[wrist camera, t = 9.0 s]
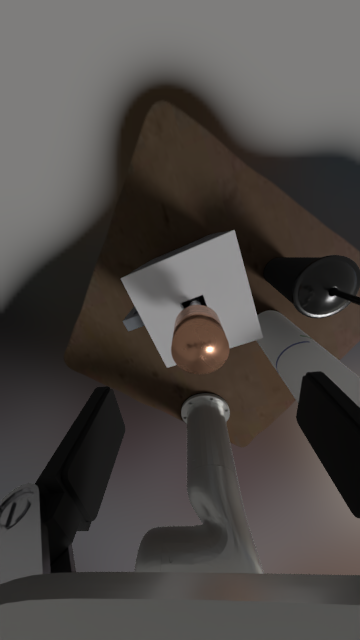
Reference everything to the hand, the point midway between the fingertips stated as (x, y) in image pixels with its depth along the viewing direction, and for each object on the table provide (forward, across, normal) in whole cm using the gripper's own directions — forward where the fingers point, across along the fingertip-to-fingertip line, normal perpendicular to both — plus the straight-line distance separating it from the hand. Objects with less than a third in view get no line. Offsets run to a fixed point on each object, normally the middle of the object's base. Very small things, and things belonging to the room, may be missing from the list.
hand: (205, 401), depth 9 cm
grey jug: (+29, +2, 0) cm, 29 cm away
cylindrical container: (+30, -15, +11) cm, 35 cm away
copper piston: (+27, 0, -1) cm, 27 cm away
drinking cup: (+30, -16, 0) cm, 33 cm away
